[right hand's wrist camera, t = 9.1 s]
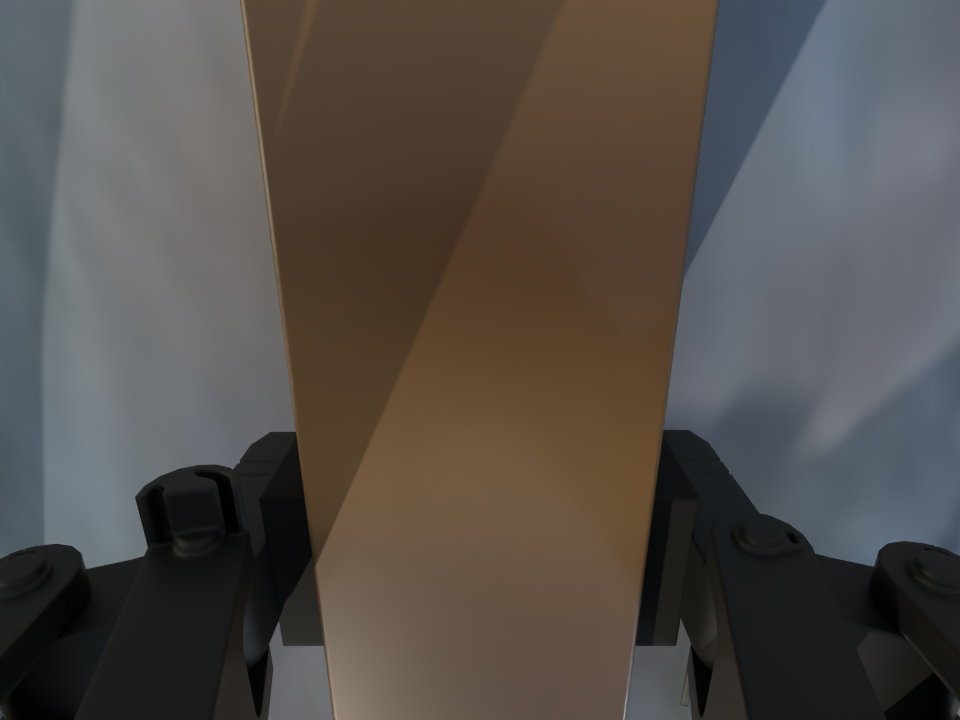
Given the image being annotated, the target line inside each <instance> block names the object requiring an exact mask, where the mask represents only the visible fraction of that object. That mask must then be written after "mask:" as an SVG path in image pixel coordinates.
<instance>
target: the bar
mask: <svg viewBox="0 0 960 720" xmlns="http://www.w3.org/2000/svg"><path fill="white" fill-rule="evenodd" d="M240 4H241V11H242V19H243V27H244V34H245V42H246V50H247V58H248V65H249V73H250V81H251V88H252V96H253V104H254V112H255V119H256V127H257V135H258V142H259V150H260V158H261V165H262V173H263V181H264V189H265V196H266V204H267V212H268V219H269V227H270V235H271V242H272V250H273V258H274V266H275V273H276V281H277V289H278V296H279V304H280V312H281V320H282V327H283V335H284V343H285V350H286V358H287V366H288V373H289V381H290V389H291V397H292V404H293V412H294V420H295V427H296V435H297V443H298V451H299V458H300V466H301V474H302V481H303V489H304V497H305V504H306V512H307V520H308V528H309V535H310V543H311V551H312V558H313V566H314V574H315V581H316V589H317V597H318V605H319V612H320V620H321V628H322V635H323V643H324V651H325V659H326V666H327V674H328V682H329V689H330V697H331V705H332V712H333V720H626V713H627V706H628V698H629V690H630V682H631V675H632V667H633V659H634V652H635V644H636V636H637V629H638V621H639V613H640V606H641V598H642V590H643V583H644V575H645V567H646V560H647V552H648V544H649V537H650V529H651V521H652V514H653V506H654V498H655V490H656V483H657V475H658V467H659V460H660V452H661V444H662V437H663V429H664V421H665V414H666V406H667V398H668V391H669V383H670V375H671V368H672V360H673V352H674V345H675V337H676V329H677V322H678V314H679V306H680V298H681V291H682V283H683V275H684V268H685V260H686V252H687V245H688V237H689V229H690V222H691V214H692V206H693V199H694V191H695V183H696V176H697V168H698V160H699V153H700V145H701V137H702V130H703V122H704V114H705V106H706V99H707V91H708V83H709V76H710V68H711V60H712V53H713V45H714V37H715V30H716V22H717V14H718V7H719V0H240Z"/></svg>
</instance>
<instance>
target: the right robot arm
mask: <svg viewBox="0 0 960 720" xmlns="http://www.w3.org/2000/svg"><path fill="white" fill-rule="evenodd" d="M135 498H136V502H137V506H138V510H139V514H140V518H141V522H142V526H143V529H144V533H145V537H146V541H147V545H148V549H147V551H146V553H145V556H143V557H139V558H136V559H132V560H128V561H123V562H119V563H114V564H109V565H104V566H99V567H95V568H90V569H86V568H85V564H84V561H83V558H82V555H81V553H80V552H79V551H78V550H76V549H75V548H74V547H72V546H67V545H61V544H51V545H42V546H35V547H31V548H26V549H25V550H20V551H17V552H14V553H11V554H9V555H8V556H6V557H4V558H2V559H0V709H1V711H2V714H3V717H2V718H1V719H0V720H268V714H269V704H270V694H271V685H272V675H273V664H272V658H271V652H270V646H269V643H270V640H271V638H272V635H273V633H274V631H275V628H276V626H277V623H278V621H279V622H280V629H281V635H282V641H283V646H324V643H323V635H322V628H321V620H320V612H319V605H318V597H317V589H316V581H315V574H314V566H313V558H312V551H311V543H310V535H309V528H308V520H307V512H306V504H305V497H304V489H303V481H302V474H301V466H300V458H299V451H298V443H297V435H296V432H270V433H268V434H267V435H265V436H264V437H262V438H261V439H259V440H258V441H256V442H255V443H253V444H252V445H251V446H250V447H249V449H248V450H247V451H246V453H245V454H244V455H243V457H242V458H241V460H240V464H237V465H236V467H235V468H234V469H231V468H228V467H224V466H220V465H196V466H191V467H187V468H182V469H178V470H175V471H173V472H170V473H167V474H165V475H162V476H160V477H158V478H157V479H155V480H154V481H152V482H150V483H149V484H147V485H146V486H144V487H143V489H142V490H141V491H140V492H139V493H138V494H137V496H136V497H135ZM680 619H682V622H683V624H684V627H685V629H686V632H687V634H688V637H689V639H690V641H691V646H690V652H689V658H688V663H687V669H686V674H685V680H684V686H683V691H682V698H681V704H680V705H683V706H688V704H689V699H690V703H691V712H692V720H960V717H959V716H958V714H957V712H958V709H959V707H960V556H958V555H956V554H954V553H952V552H950V551H948V550H946V549H943V548H940V547H935V546H933V545H928V544H924V543H915V542H906V541H901V542H895V543H889V544H887V545H885V546H884V547H883V548H882V549H880V550H879V552H878V555H877V559H876V562H875V565H874V567H873V566H868V565H863V564H858V563H853V562H848V561H844V560H839V559H834V558H829V557H826V556H822V555H818V554H815V552H814V550H813V548H812V546H811V545H810V543H809V542H808V541H807V539H806V538H805V536H804V535H803V534H802V533H800V532H799V531H797V530H796V529H795V528H793V527H792V526H791V525H789V524H787V523H785V522H783V521H781V520H778V519H776V518H774V517H772V516H768V515H764V514H760V513H759V512H758V511H757V510H756V508H755V507H754V505H753V504H752V503H751V501H750V500H749V498H748V497H747V496H746V494H745V493H744V491H743V490H742V489H741V487H740V486H739V485H738V483H737V482H736V480H735V479H734V478H733V476H732V475H731V474H729V471H728V469H727V468H726V467H725V465H724V464H723V462H720V458H719V457H718V455H717V454H716V453H715V451H714V450H713V449H712V447H711V446H710V444H709V443H708V442H706V441H705V440H703V439H702V438H700V437H698V436H697V435H695V434H694V433H692V432H691V431H689V430H663V437H662V444H661V452H660V460H659V467H658V475H657V483H656V490H655V498H654V506H653V514H652V521H651V529H650V537H649V544H648V552H647V560H646V567H645V575H644V583H643V590H642V598H641V606H640V613H639V621H638V629H637V636H636V644H635V646H676V643H677V637H678V631H679V625H680Z"/></svg>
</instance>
